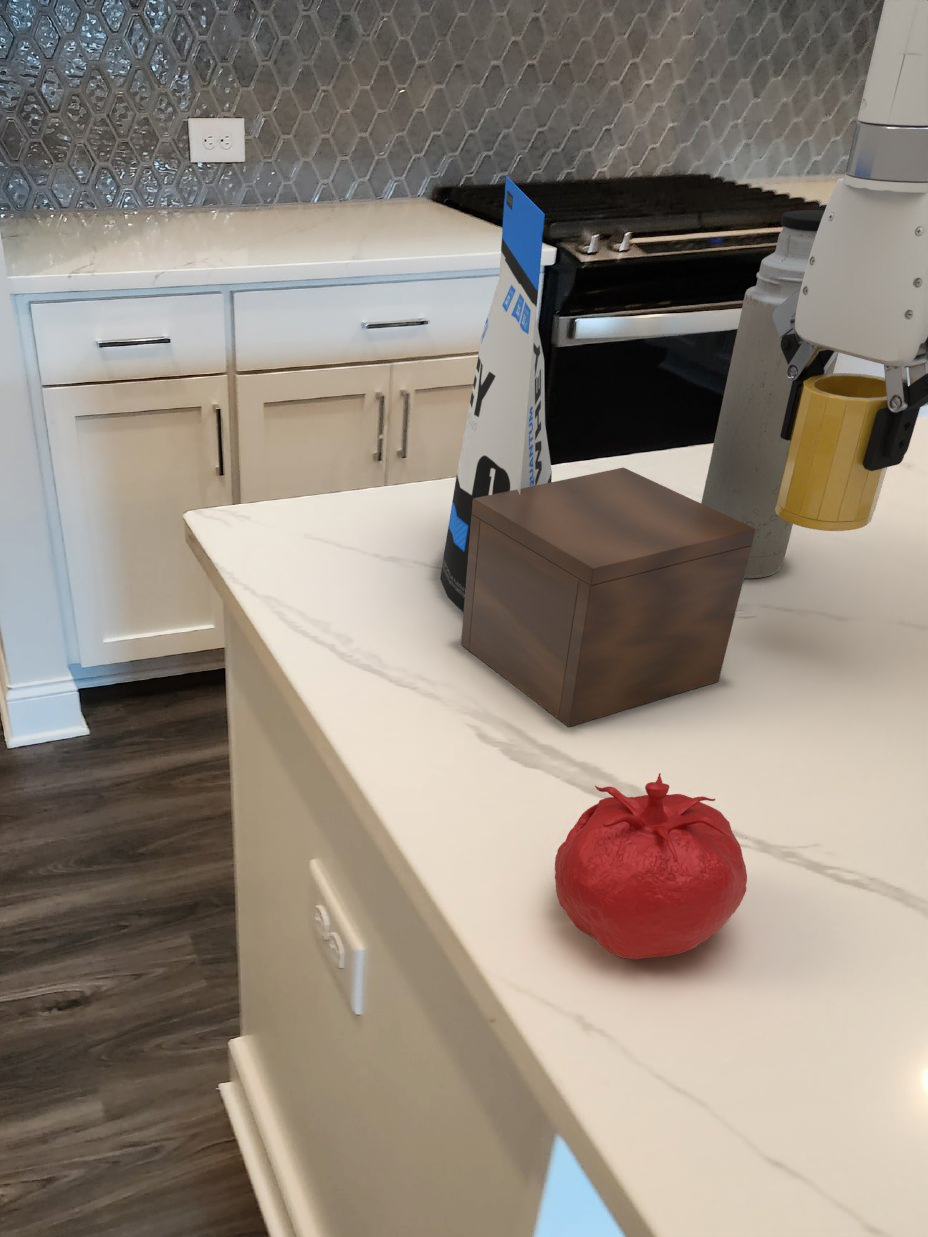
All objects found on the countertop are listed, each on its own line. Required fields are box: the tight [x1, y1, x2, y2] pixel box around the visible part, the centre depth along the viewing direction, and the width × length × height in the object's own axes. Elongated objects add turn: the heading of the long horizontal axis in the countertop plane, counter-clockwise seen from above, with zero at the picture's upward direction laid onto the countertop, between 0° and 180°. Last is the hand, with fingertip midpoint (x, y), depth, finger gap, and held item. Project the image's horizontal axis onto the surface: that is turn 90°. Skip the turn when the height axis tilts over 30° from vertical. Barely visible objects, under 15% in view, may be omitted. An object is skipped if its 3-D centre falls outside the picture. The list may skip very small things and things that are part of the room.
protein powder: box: [439, 175, 553, 614], centre depth 89 cm, size 10×24×30 cm, turn 177°
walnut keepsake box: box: [460, 467, 756, 727], centre depth 82 cm, size 14×14×12 cm
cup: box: [775, 372, 888, 532], centre depth 78 cm, size 7×7×9 cm
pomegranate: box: [554, 772, 748, 960], centre depth 59 cm, size 10×10×9 cm
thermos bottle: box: [700, 209, 839, 579], centre depth 92 cm, size 8×8×28 cm
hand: (839, 448), depth 78 cm, fingers closed on cup, 6 cm apart
